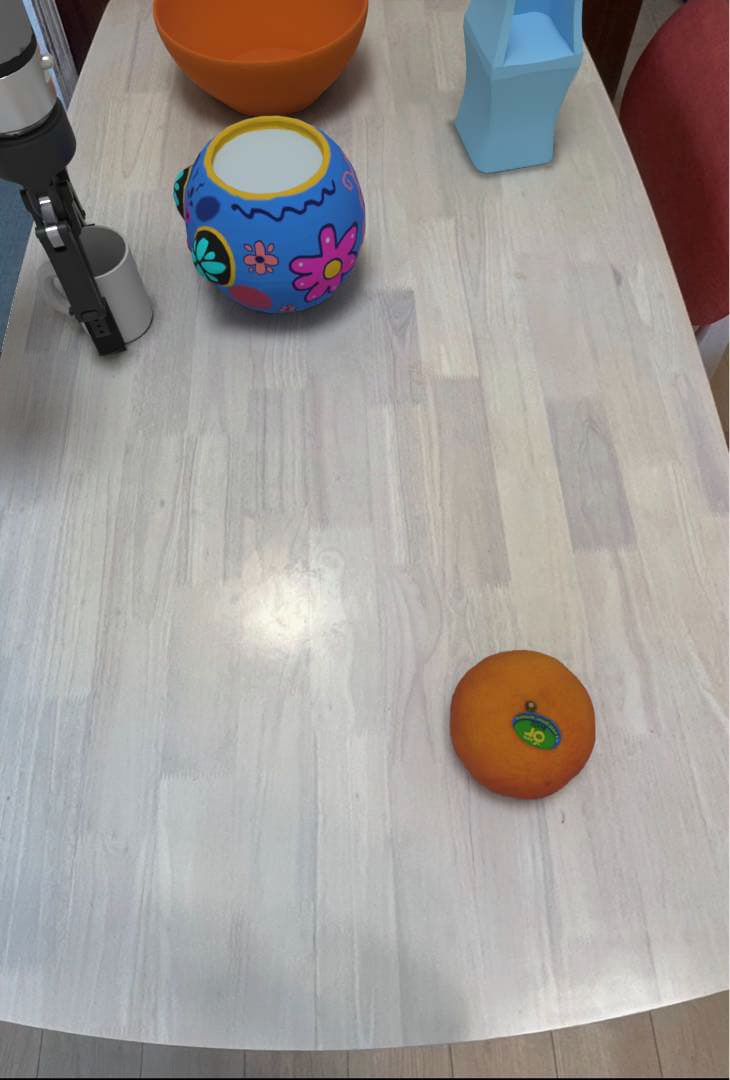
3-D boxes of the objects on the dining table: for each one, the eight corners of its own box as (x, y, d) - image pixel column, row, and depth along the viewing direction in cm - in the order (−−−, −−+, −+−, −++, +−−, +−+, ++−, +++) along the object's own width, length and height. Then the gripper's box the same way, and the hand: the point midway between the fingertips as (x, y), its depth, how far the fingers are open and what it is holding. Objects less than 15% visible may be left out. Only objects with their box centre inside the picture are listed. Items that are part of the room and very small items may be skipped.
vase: (477, 175, 88) (512, -78, 66) (453, 123, 92) (478, -131, 70) (557, 161, 89) (618, -93, 66) (529, 110, 93) (578, -145, 71)
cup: (150, 345, 77) (124, 279, 69) (52, 349, 77) (15, 283, 69) (156, 293, 80) (132, 223, 72) (62, 296, 80) (27, 228, 72)
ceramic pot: (185, 245, 83) (149, 116, 70) (339, 209, 86) (332, 77, 72) (222, 363, 76) (189, 243, 62) (388, 320, 78) (391, 195, 65)
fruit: (449, 662, 61) (458, 628, 54) (577, 674, 61) (604, 642, 54) (441, 798, 56) (451, 781, 49) (581, 813, 56) (611, 798, 49)
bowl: (387, 38, 100) (389, -48, 91) (342, 160, 89) (339, 76, 80) (209, 16, 103) (193, -70, 94) (144, 132, 92) (119, 47, 83)
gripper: (77, 183, 54) (159, 386, 74) (46, 27, 62) (127, 247, 83) (-30, 206, 53) (83, 405, 73) (-47, 44, 62) (59, 262, 82)
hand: (106, 321), depth 78 cm, fingers closed on cup, 7 cm apart
